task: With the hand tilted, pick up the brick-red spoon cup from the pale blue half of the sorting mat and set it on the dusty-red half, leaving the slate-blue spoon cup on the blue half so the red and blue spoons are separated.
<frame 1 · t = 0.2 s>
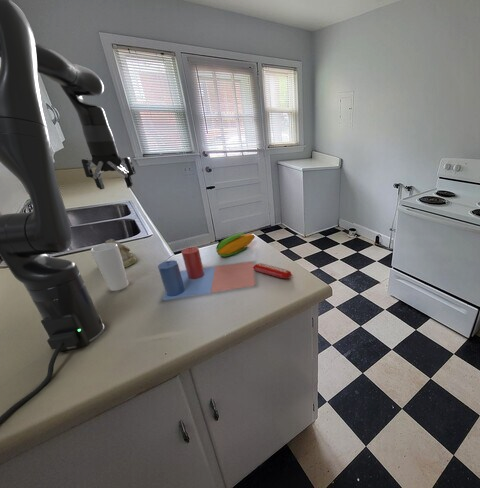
hand: (116, 188, 97), 29 cm above the countertop, tool pointing down, fingers open, 8 cm apart
sorting mat: (213, 279, 94), on the countertop
ceramic model: (120, 262, 107), on the countertop
red spoon cup: (196, 275, 96), resting on sorting mat
drinking glass: (119, 287, 91), on the countertop
corn: (237, 250, 116), on the countertop
blue spoon cup: (175, 291, 87), resting on sorting mat
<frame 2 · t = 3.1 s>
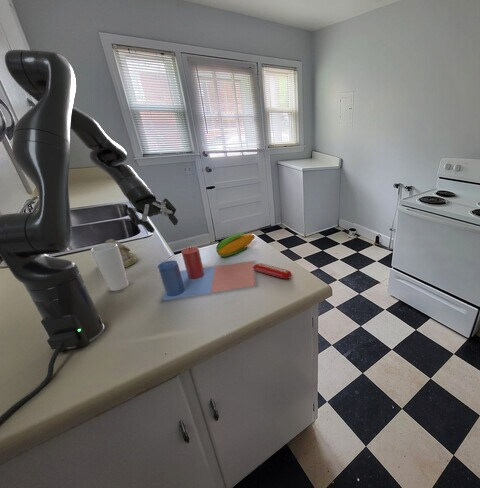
hand: (165, 227, 95), 17 cm above the countertop, tool tilted 45°, fingers open, 8 cm apart
nothing on the countertop moved.
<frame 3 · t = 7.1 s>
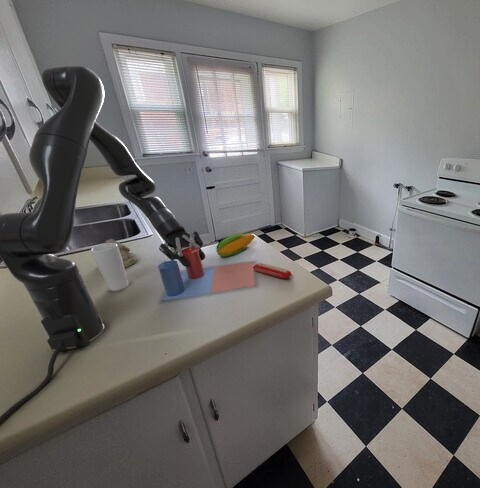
hand: (196, 262, 93), 6 cm above the countertop, tool tilted 45°, fingers closed on red spoon cup, 5 cm apart
red spoon cup: (196, 275, 96), resting on sorting mat, touching gripper
everything else where it was.
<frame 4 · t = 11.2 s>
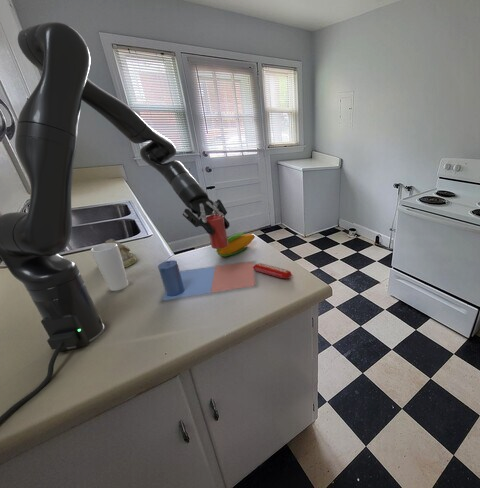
hand: (220, 230, 88), 18 cm above the countertop, tool tilted 45°, fingers closed on red spoon cup, 5 cm apart
red spoon cup: (219, 245, 91), point 12 cm above the countertop, touching gripper
everything else where it was.
when the fingers open (6 cm above the countertop, at t = 15.2 s): red spoon cup stays where it is, resting on sorting mat.
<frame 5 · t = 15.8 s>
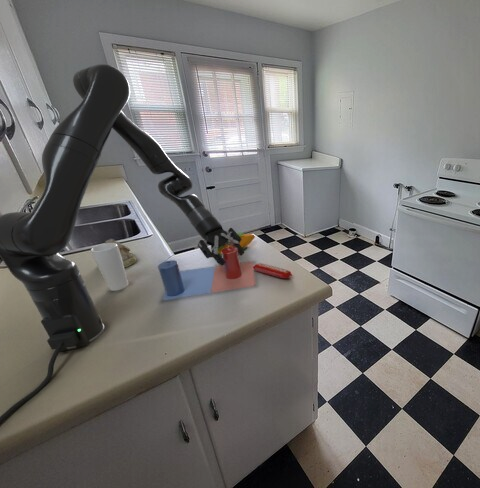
hand: (233, 259, 92), 7 cm above the countertop, tool tilted 45°, fingers open, 8 cm apart
red spoon cup: (233, 275, 96), resting on sorting mat
everything else where it was.
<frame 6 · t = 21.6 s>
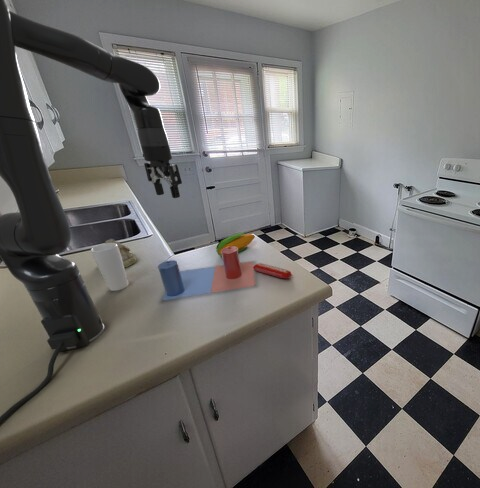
hand: (168, 196, 89), 28 cm above the countertop, tool pointing down, fingers open, 8 cm apart
nothing on the countertop moved.
at the end: red spoon cup inside the target area (0.1 cm from its centre), resting on sorting mat; red spoon cup tilted 0°; blue spoon cup inside the target area (6.1 cm from its centre), resting on sorting mat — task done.
